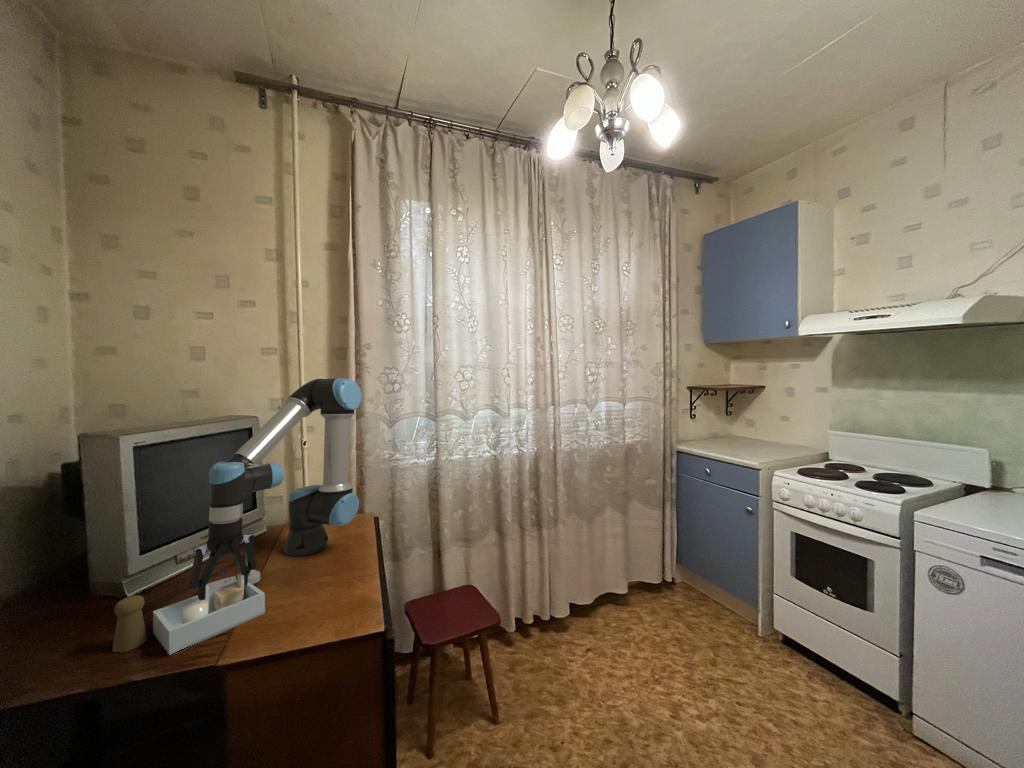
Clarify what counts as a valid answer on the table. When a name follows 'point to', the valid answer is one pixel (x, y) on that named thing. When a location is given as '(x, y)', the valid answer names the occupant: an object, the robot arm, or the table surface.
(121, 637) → the cork
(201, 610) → the white egg
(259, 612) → the tote
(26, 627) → the table surface
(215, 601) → the beech cube
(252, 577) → the electronic device
